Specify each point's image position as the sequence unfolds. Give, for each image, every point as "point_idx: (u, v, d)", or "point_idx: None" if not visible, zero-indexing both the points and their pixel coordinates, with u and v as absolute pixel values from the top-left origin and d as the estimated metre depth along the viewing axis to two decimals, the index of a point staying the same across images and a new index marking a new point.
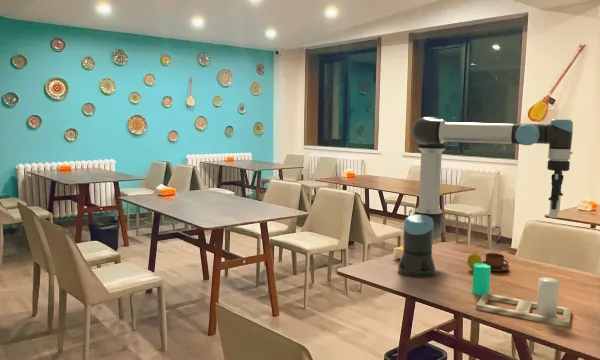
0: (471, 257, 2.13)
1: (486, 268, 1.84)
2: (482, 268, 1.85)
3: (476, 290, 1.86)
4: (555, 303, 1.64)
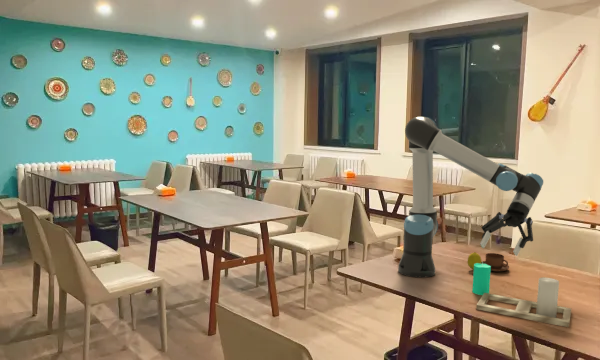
0: (471, 257, 2.13)
1: (486, 268, 1.84)
2: (482, 268, 1.85)
3: (476, 290, 1.86)
4: (555, 303, 1.64)
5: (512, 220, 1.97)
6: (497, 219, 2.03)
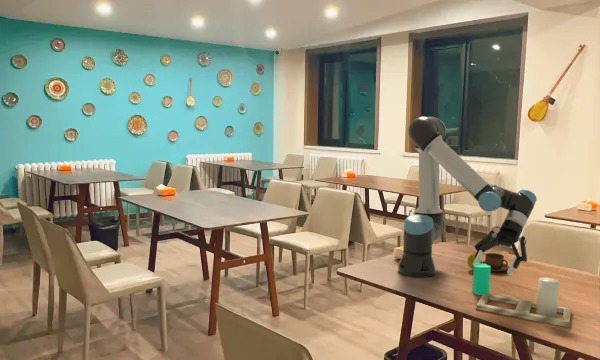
0: (471, 257, 2.13)
1: (486, 268, 1.85)
2: (482, 268, 1.85)
3: (476, 290, 1.86)
4: (555, 303, 1.64)
5: (505, 239, 1.93)
6: (490, 237, 1.98)
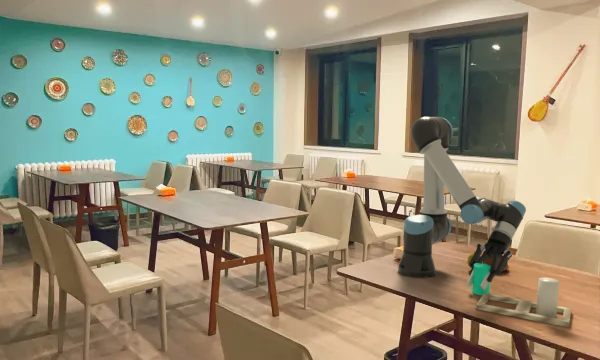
0: (471, 257, 2.13)
1: (486, 268, 1.84)
2: (482, 268, 1.85)
3: (476, 290, 1.86)
4: (555, 303, 1.64)
5: (493, 250, 1.91)
6: (480, 251, 1.95)
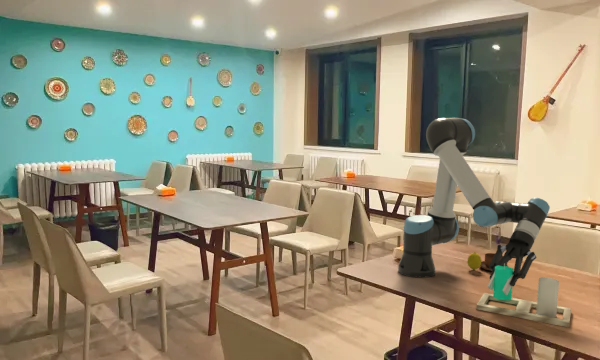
0: (471, 257, 2.13)
1: (509, 271, 1.70)
2: (504, 271, 1.70)
3: (498, 294, 1.72)
4: (555, 303, 1.64)
5: (515, 251, 1.76)
6: (500, 253, 1.80)
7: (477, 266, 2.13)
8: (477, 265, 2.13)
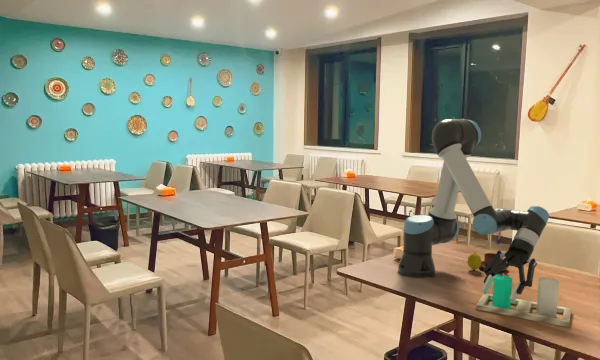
0: (471, 257, 2.13)
1: (508, 281, 1.71)
2: (503, 281, 1.71)
3: (497, 304, 1.73)
4: (555, 303, 1.64)
5: (514, 259, 1.77)
6: (498, 259, 1.81)
7: (477, 266, 2.13)
8: (477, 265, 2.13)
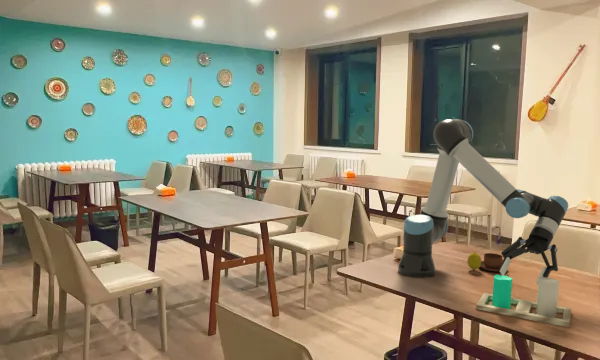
0: (471, 257, 2.13)
1: (508, 281, 1.71)
2: (503, 281, 1.71)
3: (497, 304, 1.73)
4: (555, 303, 1.64)
5: (535, 246, 1.84)
6: (518, 244, 1.90)
7: (477, 266, 2.13)
8: (477, 265, 2.13)
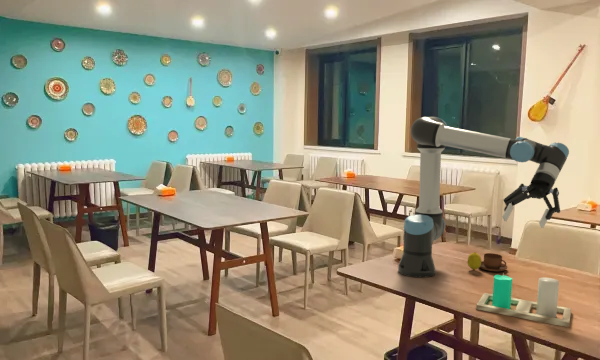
0: (471, 257, 2.13)
1: (508, 281, 1.71)
2: (503, 281, 1.71)
3: (497, 304, 1.73)
4: (555, 303, 1.64)
5: (537, 191, 1.85)
6: (520, 191, 1.91)
7: (477, 266, 2.13)
8: (477, 265, 2.13)
